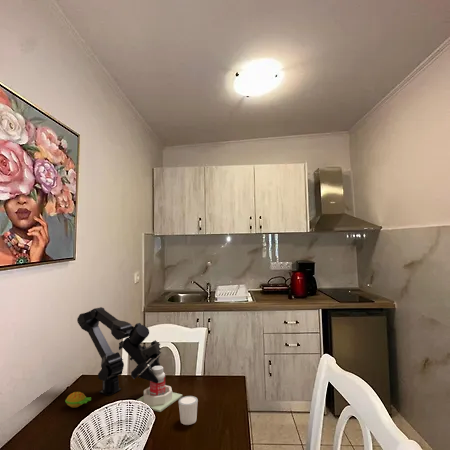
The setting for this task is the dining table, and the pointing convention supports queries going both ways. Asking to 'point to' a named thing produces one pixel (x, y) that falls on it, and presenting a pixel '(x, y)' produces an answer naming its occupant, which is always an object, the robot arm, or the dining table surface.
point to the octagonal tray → (160, 399)
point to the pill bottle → (159, 387)
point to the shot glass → (188, 409)
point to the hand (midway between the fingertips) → (160, 378)
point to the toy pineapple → (76, 399)
